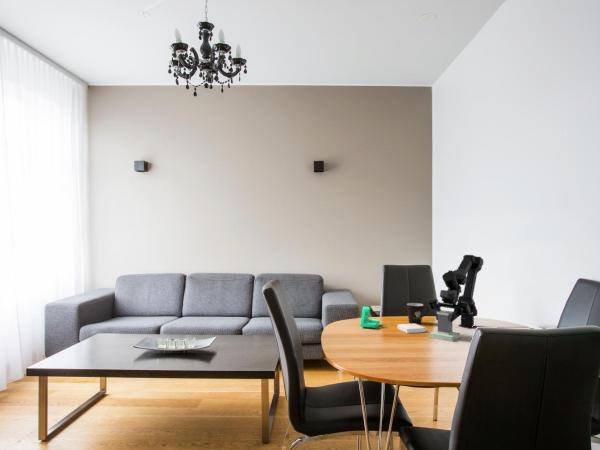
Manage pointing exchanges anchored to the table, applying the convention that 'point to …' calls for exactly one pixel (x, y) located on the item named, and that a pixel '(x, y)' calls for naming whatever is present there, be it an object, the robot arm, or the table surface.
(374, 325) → the camera mount
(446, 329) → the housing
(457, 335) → the stand
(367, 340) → the table surface
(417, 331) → the stand
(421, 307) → the coffee mug
